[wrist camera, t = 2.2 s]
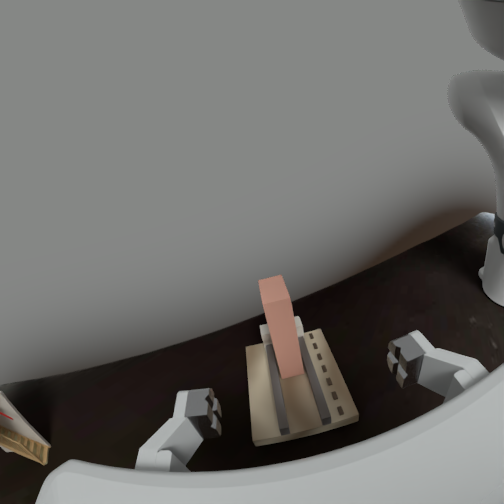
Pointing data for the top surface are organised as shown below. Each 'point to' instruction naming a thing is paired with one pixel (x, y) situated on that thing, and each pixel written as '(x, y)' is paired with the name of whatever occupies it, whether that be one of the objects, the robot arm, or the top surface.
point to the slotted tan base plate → (296, 391)
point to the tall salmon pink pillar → (281, 325)
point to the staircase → (20, 434)
